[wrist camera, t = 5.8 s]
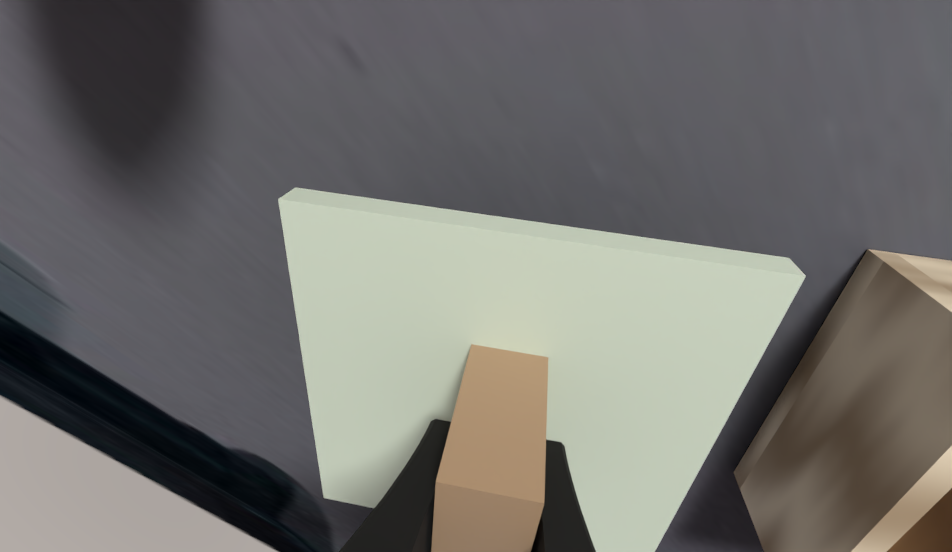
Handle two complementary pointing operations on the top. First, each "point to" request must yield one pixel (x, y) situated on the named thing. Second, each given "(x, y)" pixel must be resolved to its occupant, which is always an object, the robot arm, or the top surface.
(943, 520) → the walnut block
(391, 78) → the top surface
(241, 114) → the top surface
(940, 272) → the box
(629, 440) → the lid
